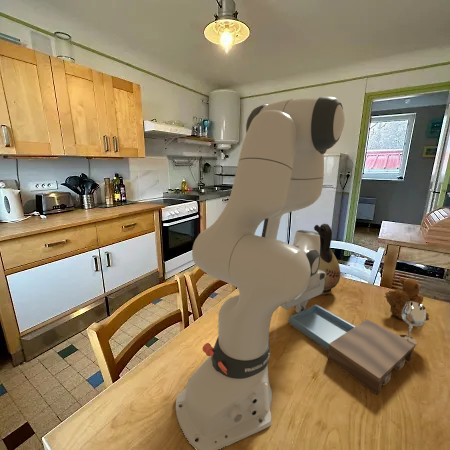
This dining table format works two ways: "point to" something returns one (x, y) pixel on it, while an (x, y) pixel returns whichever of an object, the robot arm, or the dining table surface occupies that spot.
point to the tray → (320, 325)
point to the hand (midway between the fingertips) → (300, 311)
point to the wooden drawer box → (370, 354)
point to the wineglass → (413, 317)
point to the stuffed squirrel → (404, 296)
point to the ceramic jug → (327, 258)
